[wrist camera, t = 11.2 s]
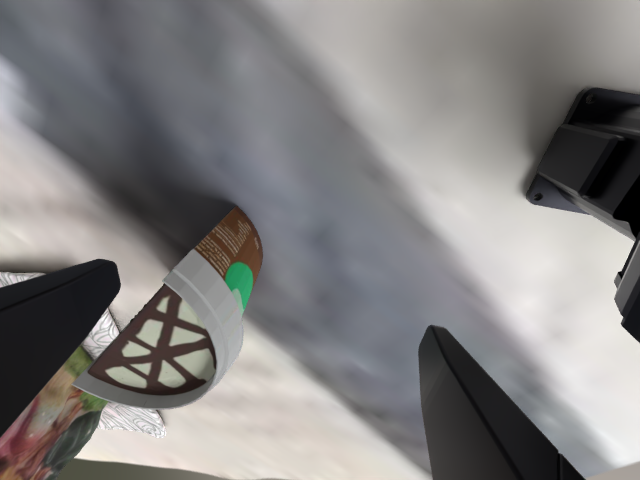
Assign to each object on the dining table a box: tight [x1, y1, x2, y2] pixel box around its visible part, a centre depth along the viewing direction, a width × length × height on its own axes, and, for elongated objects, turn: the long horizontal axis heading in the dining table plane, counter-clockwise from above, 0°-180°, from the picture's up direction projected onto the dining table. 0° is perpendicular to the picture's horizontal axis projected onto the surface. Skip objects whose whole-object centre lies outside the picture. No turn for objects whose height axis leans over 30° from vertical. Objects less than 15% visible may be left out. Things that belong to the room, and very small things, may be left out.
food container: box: [71, 205, 263, 410], centre depth 20 cm, size 12×6×10 cm, turn 136°
